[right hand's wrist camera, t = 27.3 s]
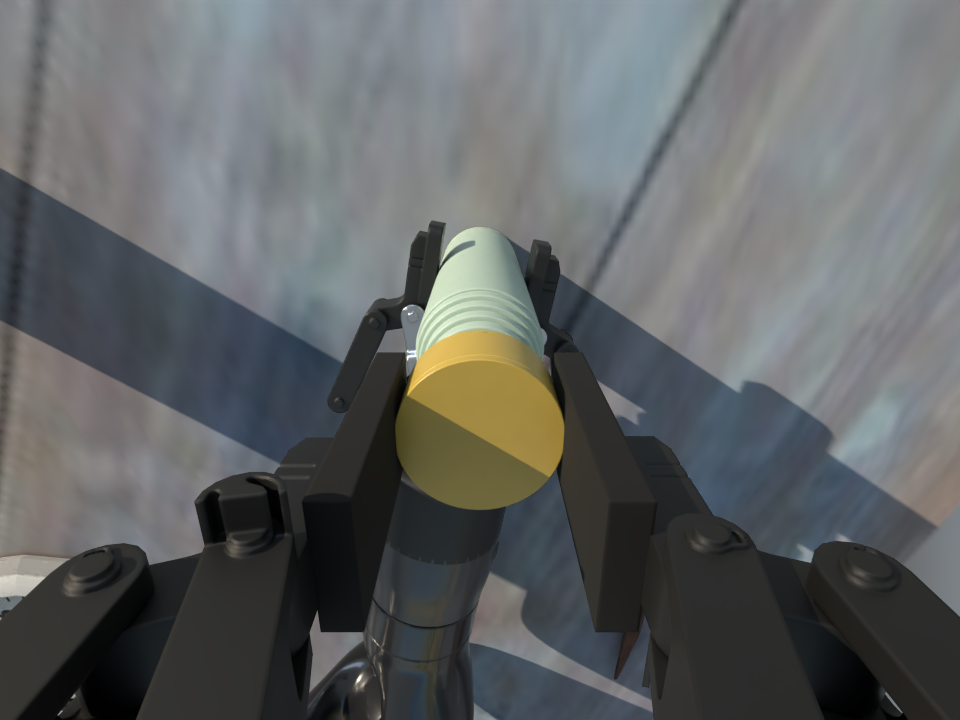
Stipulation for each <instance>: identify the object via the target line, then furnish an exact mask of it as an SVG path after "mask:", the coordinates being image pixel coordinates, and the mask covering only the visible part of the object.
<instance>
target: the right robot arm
mask: <svg viewBox="0 0 960 720" xmlns="http://www.w3.org/2000/svg"><path fill="white" fill-rule="evenodd" d="M406 384H407V376H406V358H405V353H377V354H376V356H375V358H374V360H373V362H372V364H371V366H370V368H369V370H368V372H367V374H366V376H365V378H364V380H363V382H362V384H361V386H360V388H359V390H358V392H357V394H356V395H355V397H354V399H353V401H352V403H351V405H350V407H349V409H348V411H347V413H346V415H345V417H344V419H343V421H342V423H341V425H340V427H339V429H338V431H337V433H336V435H335V437H334V438H305V439H304V440H303V441H301V442H300V443H299V444H297V445H296V446H294V447H293V448H292V449H290V450H289V451H288V453H287V454H286V456H285V457H284V459H283V461H282V462H281V464H280V467H278V468H277V470H276V472H275V473H274V474H271V473H267V472H248V473H243V474H238V475H233V476H230V477H228V478H225V479H223V480H220V481H218V482H216V483H214V484H213V485H211V486H210V487H208V488H207V489H205V490H204V491H202V493H201V494H200V495H199V496H198V498H197V499H196V500H195V501H194V502H195V507H196V511H197V515H198V519H199V523H200V528H201V532H202V536H203V540H204V545H205V547H204V549H203V552H202V553H199V554H196V555H192V556H189V557H185V558H180V559H176V560H171V561H166V562H162V563H157V564H153V565H149V563H148V560H147V556H146V553H145V552H144V551H143V550H142V549H141V548H140V547H138V546H136V545H130V544H125V543H122V544H112V545H105V546H102V547H97V548H94V549H91V550H88V551H85V552H83V553H81V554H79V555H77V556H75V557H73V558H71V559H69V560H67V561H66V562H64V563H63V564H62V565H60V566H59V567H58V568H56V569H55V570H54V571H52V572H51V573H50V574H49V575H48V576H47V577H46V578H44V579H43V580H42V581H41V582H40V583H39V584H38V585H37V586H36V587H35V588H34V589H33V590H32V591H31V592H30V593H28V594H27V595H26V596H25V597H24V598H23V599H22V600H21V601H20V602H19V603H18V604H17V605H16V606H15V607H14V608H13V609H11V610H10V611H9V612H8V613H7V614H6V615H5V616H4V617H3V618H2V619H1V620H0V720H306V718H307V708H308V698H309V687H310V677H311V667H312V656H313V653H312V646H311V640H310V633H309V632H310V629H311V627H312V624H313V621H314V618H315V615H316V612H317V610H318V616H319V623H320V629H321V632H365V627H366V623H367V619H368V615H369V611H370V606H371V602H372V598H373V594H374V590H375V585H376V581H377V577H378V573H379V569H380V565H381V560H382V556H383V552H384V548H385V544H386V539H387V535H388V531H389V527H390V523H391V519H392V514H393V510H394V506H395V502H396V498H397V493H398V489H399V485H400V481H401V477H402V473H403V467H402V465H401V463H400V460H399V458H398V456H397V447H396V432H395V421H396V416H397V413H398V410H399V407H400V403H401V400H402V397H403V394H404V391H405V387H406ZM553 385H554V388H555V391H556V394H557V398H558V401H559V404H560V407H561V410H562V414H563V417H564V421H565V425H564V441H563V454H562V458H561V460H560V462H559V464H558V466H557V468H556V470H557V474H558V478H559V482H560V486H561V491H562V495H563V499H564V503H565V507H566V512H567V516H568V520H569V524H570V528H571V533H572V537H573V541H574V545H575V549H576V553H577V558H578V562H579V566H580V570H581V574H582V579H583V583H584V587H585V591H586V595H587V600H588V604H589V608H590V612H591V616H592V620H593V625H594V629H595V632H639V627H640V620H641V613H642V608H643V611H644V614H645V617H646V619H647V622H648V625H649V628H650V631H651V633H650V640H649V646H648V652H647V659H646V665H645V671H644V678H643V684H642V687H648V688H649V685H650V686H651V696H652V707H653V717H654V720H960V617H959V616H958V615H957V614H956V613H955V612H954V611H953V610H952V609H951V608H950V607H949V606H948V605H947V604H945V603H944V602H943V601H942V600H941V599H940V598H939V597H938V596H937V595H936V594H935V593H934V592H933V591H932V590H930V589H929V588H928V587H927V586H926V585H925V584H924V583H923V582H922V581H921V580H920V579H919V578H918V577H917V576H915V575H914V574H913V573H912V572H911V571H910V570H909V569H907V568H906V567H905V566H903V565H902V564H901V563H899V562H898V561H897V560H895V559H894V558H892V557H890V556H888V555H886V554H884V553H882V552H880V551H878V550H876V549H873V548H870V547H867V546H863V545H860V544H856V543H851V542H841V541H834V542H828V543H823V544H821V545H820V546H819V547H818V548H817V549H816V550H815V551H814V555H813V558H812V562H811V563H808V562H804V561H799V560H794V559H790V558H785V557H781V556H776V555H772V554H769V553H765V552H762V551H758V550H757V548H756V546H755V544H754V543H753V541H752V540H751V538H750V537H749V535H748V534H747V533H746V532H744V531H743V530H742V529H740V528H739V527H738V526H737V525H735V524H733V523H731V522H729V521H727V520H724V519H722V518H720V517H717V516H714V515H713V514H712V512H711V511H710V509H709V508H708V506H707V504H706V503H705V501H704V500H703V498H702V497H701V495H700V493H699V492H698V490H697V489H696V487H695V486H694V484H693V482H692V481H691V479H690V478H688V476H687V473H686V472H685V470H684V468H683V467H682V466H680V462H679V461H678V459H677V457H676V456H675V454H674V453H673V451H672V450H671V448H669V447H668V446H667V445H665V444H664V443H662V442H661V441H660V440H658V439H657V438H655V437H654V436H624V434H623V432H622V430H621V428H620V426H619V424H618V422H617V420H616V418H615V416H614V414H613V412H612V410H611V408H610V406H609V404H608V402H607V400H606V398H605V396H604V394H603V392H602V390H601V388H600V386H599V384H598V382H597V380H596V378H595V376H594V374H593V372H592V371H591V369H590V367H589V365H588V363H587V361H586V359H585V357H584V355H583V353H554V369H553ZM885 692H887V693H888V694H889V696H890V697H891V698H892V699H893V701H894V702H895V703H896V704H897V706H898V707H899V708H900V710H901V711H902V712H903V713H901V712H900V711H899V710H898V709H897V708H896V707H895V706H894V705H893V704H892V703H891V701H890V700H889V699H888V698H887V696H886V695H885ZM74 694H75V697H74V699H73V700H72V701H71V703H70V704H69V705H68V706H67V708H65V709H64V710H63V711H62V712H61V710H62V709H63V708H64V707H65V705H66V704H67V703H68V701H69V700H70V699H71V698H72V696H73V695H74ZM60 712H61V713H60ZM59 713H60V714H59ZM58 714H59V715H58Z"/></svg>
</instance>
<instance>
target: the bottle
mask: <svg viewBox="0 0 960 720" xmlns="http://www.w3.org/2000/svg"><path fill="white" fill-rule="evenodd" d="M473 330H486V331H494V332H499V333H503V334H506V335H509V336H511V337H514V338H516V339H517V340H519V341H521V342H523V343H524V344H526V345H527V346H529V347H530V348H531V349H532V350H533V351H534V352H535V353H536V354H537V355H538V356H539V357H540V358H541V360H542V361H543V359H544V339H543V334H542V331H541V328H540V325H539V322H538V319H537V316H536V313H535V310H534V307H533V304H532V301H531V298H530V295H529V292H528V290H527V287H526V284H525V281H524V278H523V275H522V272H521V269H520V266H519V263H518V260H517V257H516V254H515V251H514V249H513V247H512V245H511V243H510V242H509V241H508V240H507V238H506V237H504V236H503V235H502V234H501V233H499V232H497V231H495V230H493V229H490V228H485V227H475V228H470V229H467V230H465V231H463V232H461V233H459V234H458V235H457V236H456V237H454V238H453V240H452V241H451V242H450V243H449V245H448V247H447V249H446V251H445V254H444V257H443V260H442V263H441V266H440V269H439V272H438V275H437V278H436V280H435V283H434V286H433V289H432V292H431V295H430V298H429V301H428V304H427V307H426V310H425V313H424V316H423V318H422V321H421V324H420V327H419V331H418V334H417V339H416V360H417V361H418V359H419V358H420V357H421V356H422V355H423V354H424V353H425V352H426V350H428V349H429V348H430V347H431V346H433V345H434V344H435V343H437V342H439V341H440V340H442V339H444V338H446V337H449V336H451V335H454V334H457V333H461V332H466V331H473Z"/></svg>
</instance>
